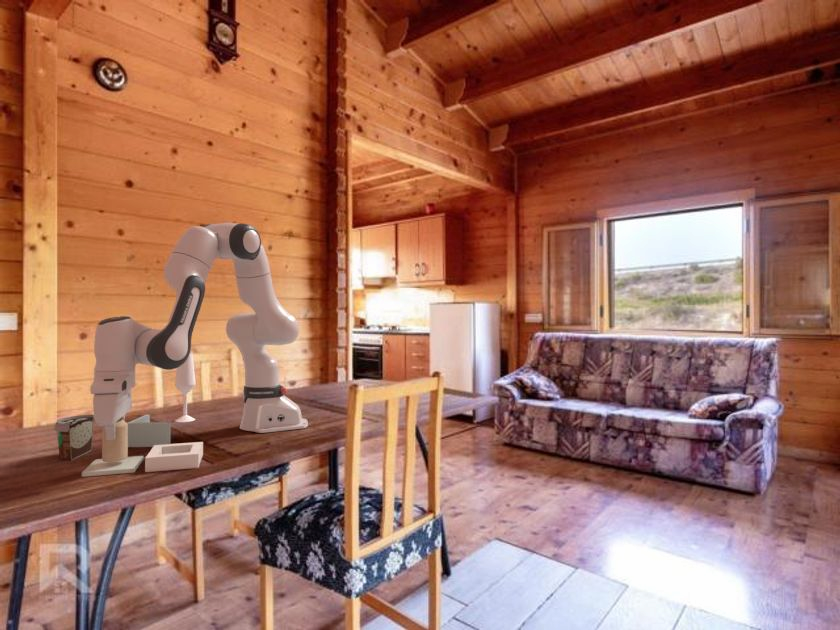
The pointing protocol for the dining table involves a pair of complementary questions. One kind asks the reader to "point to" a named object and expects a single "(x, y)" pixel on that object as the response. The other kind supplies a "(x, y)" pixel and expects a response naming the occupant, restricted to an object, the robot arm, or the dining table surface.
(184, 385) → the champagne flute
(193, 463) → the pocket block
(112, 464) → the cream tile
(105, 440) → the candle
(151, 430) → the l-shaped corner panel
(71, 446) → the food container
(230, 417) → the dining table surface
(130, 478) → the dining table surface
